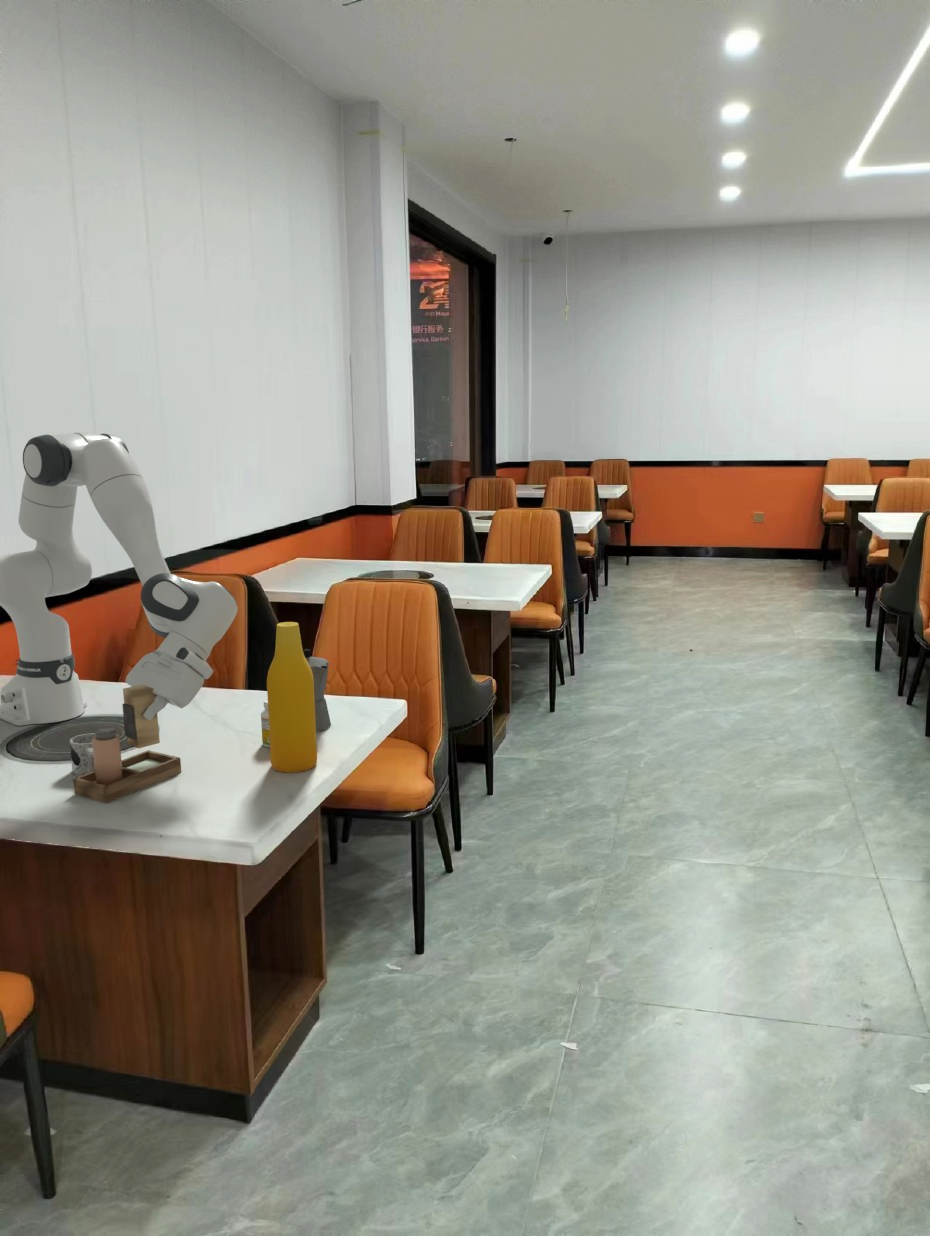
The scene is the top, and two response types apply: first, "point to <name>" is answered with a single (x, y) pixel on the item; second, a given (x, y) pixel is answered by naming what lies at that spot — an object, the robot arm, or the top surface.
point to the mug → (82, 754)
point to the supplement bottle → (265, 725)
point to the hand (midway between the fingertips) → (138, 714)
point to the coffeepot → (319, 689)
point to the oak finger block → (139, 717)
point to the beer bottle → (291, 704)
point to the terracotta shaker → (107, 756)
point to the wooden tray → (129, 776)
